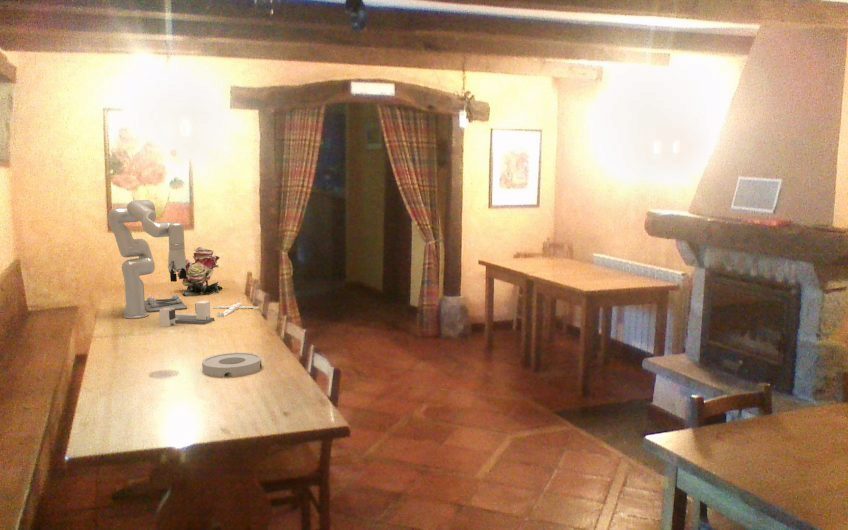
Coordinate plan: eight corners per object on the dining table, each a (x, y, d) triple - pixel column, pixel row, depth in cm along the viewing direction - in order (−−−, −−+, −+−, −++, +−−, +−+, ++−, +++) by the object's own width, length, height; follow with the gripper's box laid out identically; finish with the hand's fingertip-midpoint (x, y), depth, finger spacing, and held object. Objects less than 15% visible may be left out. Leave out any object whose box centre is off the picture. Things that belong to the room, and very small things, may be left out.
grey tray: (187, 310, 414) (186, 297, 413) (147, 313, 405) (146, 301, 404) (180, 301, 441) (179, 290, 440) (142, 304, 432) (142, 292, 431)
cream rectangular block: (160, 326, 369) (159, 309, 368) (166, 324, 375) (165, 307, 374) (170, 326, 368) (169, 310, 367) (176, 324, 374) (175, 307, 372)
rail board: (161, 322, 379) (160, 302, 378) (172, 318, 389) (171, 298, 387) (204, 324, 374) (203, 304, 372) (214, 320, 383) (213, 300, 382)
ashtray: (238, 358, 308) (238, 349, 307) (273, 368, 293) (273, 358, 292) (190, 370, 290) (190, 361, 289) (225, 381, 275) (224, 371, 275)
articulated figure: (196, 312, 392) (217, 300, 422) (196, 319, 393) (217, 306, 422) (244, 313, 390) (262, 300, 419) (245, 319, 390) (262, 306, 420)
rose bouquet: (176, 291, 475) (174, 245, 471) (222, 288, 484) (220, 244, 480) (175, 297, 451) (173, 250, 447) (224, 295, 459) (222, 248, 455)
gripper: (178, 245, 379) (180, 277, 381) (161, 248, 362) (163, 282, 364) (192, 245, 378) (193, 277, 380) (174, 249, 361) (176, 282, 363)
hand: (178, 280), depth 372 cm, fingers open, 9 cm apart
